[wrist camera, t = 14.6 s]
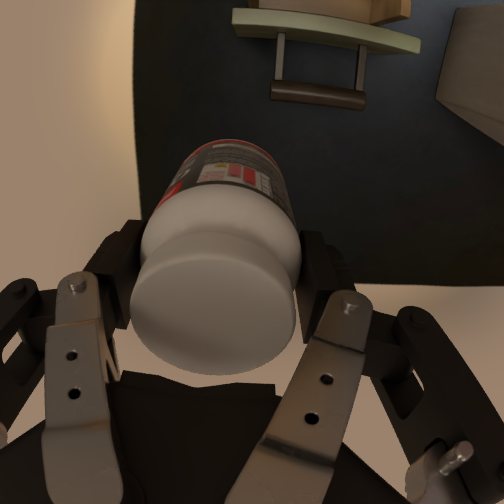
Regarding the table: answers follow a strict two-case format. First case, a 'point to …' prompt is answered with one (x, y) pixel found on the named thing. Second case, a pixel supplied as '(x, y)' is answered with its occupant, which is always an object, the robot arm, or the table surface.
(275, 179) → the pill bottle
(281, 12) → the drawer
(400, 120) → the table surface
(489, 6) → the planter
